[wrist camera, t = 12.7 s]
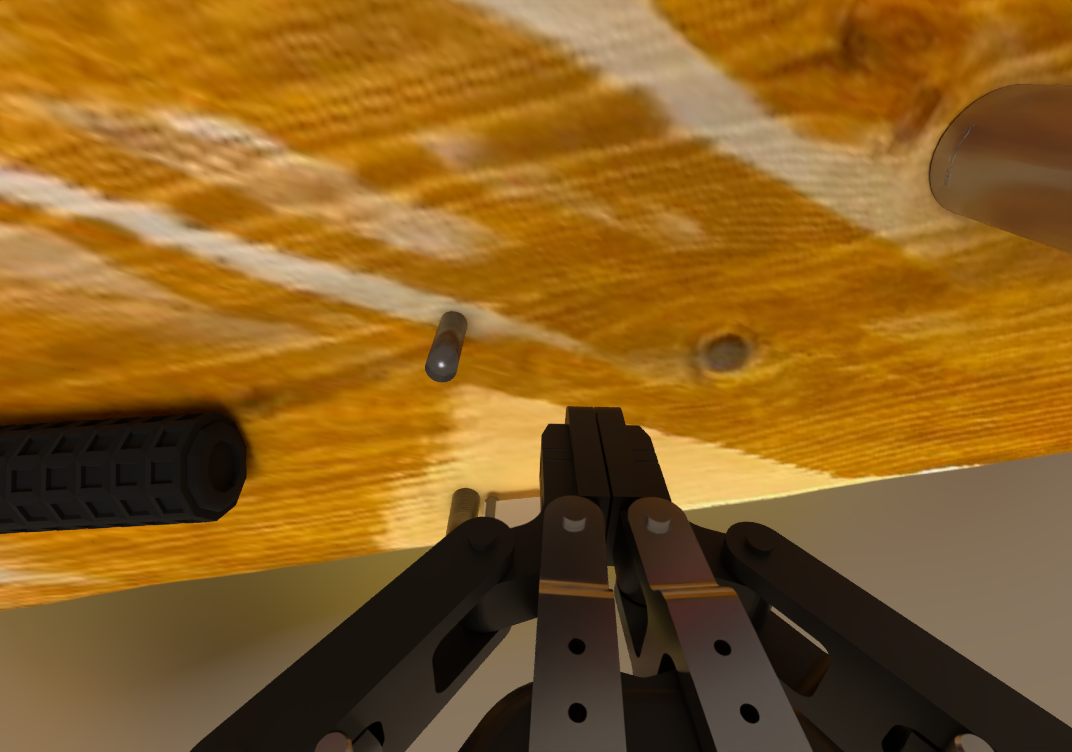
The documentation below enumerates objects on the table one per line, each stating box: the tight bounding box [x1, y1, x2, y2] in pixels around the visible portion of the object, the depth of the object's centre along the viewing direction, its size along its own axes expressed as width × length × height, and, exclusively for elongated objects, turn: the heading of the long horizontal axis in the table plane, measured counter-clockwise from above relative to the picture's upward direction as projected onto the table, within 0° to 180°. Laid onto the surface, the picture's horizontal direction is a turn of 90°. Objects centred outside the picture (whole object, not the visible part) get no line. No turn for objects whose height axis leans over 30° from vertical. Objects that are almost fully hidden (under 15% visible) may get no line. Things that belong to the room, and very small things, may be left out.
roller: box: [0, 413, 246, 534], centre depth 49 cm, size 38×10×10 cm, turn 94°
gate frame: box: [425, 311, 480, 536], centre depth 47 cm, size 3×24×11 cm, turn 179°
